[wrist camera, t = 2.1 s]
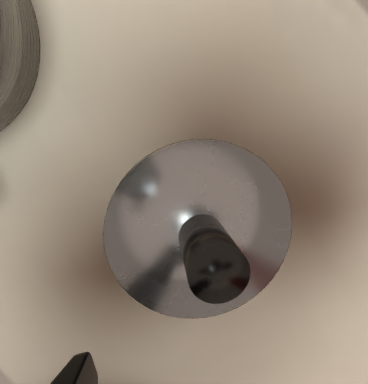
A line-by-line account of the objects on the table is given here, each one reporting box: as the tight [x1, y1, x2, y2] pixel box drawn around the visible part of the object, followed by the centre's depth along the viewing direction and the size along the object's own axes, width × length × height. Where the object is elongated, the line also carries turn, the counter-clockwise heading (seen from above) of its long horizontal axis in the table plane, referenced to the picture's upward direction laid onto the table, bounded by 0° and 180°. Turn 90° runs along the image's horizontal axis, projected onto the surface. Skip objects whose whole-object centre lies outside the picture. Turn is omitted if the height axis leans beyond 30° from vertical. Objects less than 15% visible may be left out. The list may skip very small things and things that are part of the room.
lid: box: [103, 139, 292, 318], centre depth 13 cm, size 11×11×5 cm
